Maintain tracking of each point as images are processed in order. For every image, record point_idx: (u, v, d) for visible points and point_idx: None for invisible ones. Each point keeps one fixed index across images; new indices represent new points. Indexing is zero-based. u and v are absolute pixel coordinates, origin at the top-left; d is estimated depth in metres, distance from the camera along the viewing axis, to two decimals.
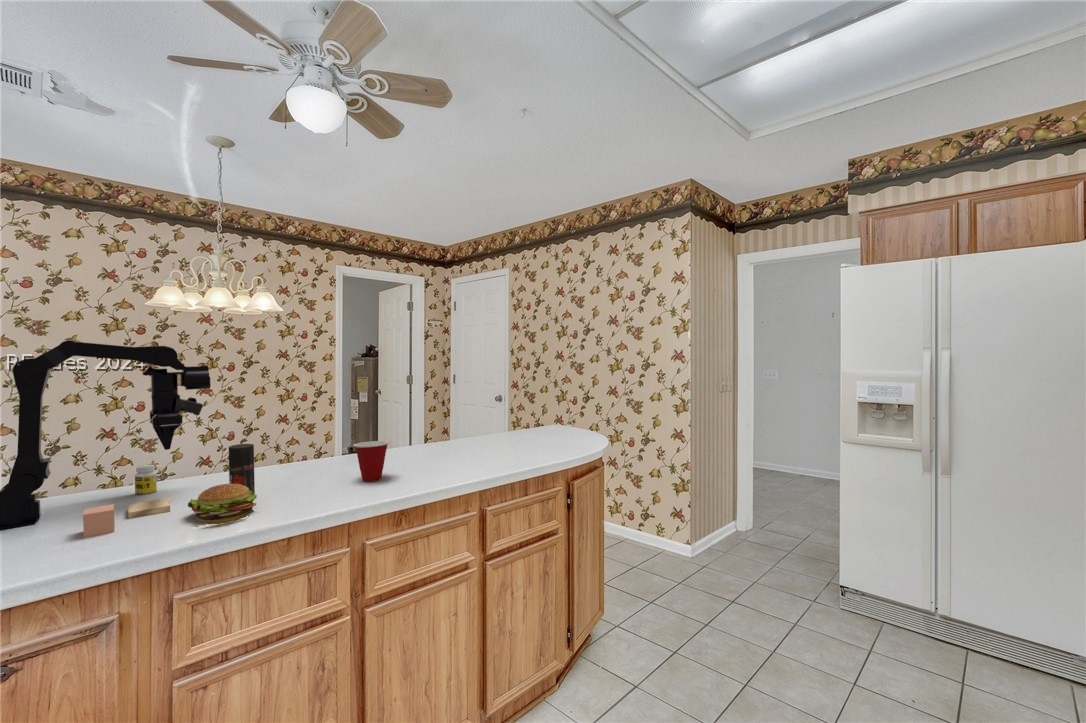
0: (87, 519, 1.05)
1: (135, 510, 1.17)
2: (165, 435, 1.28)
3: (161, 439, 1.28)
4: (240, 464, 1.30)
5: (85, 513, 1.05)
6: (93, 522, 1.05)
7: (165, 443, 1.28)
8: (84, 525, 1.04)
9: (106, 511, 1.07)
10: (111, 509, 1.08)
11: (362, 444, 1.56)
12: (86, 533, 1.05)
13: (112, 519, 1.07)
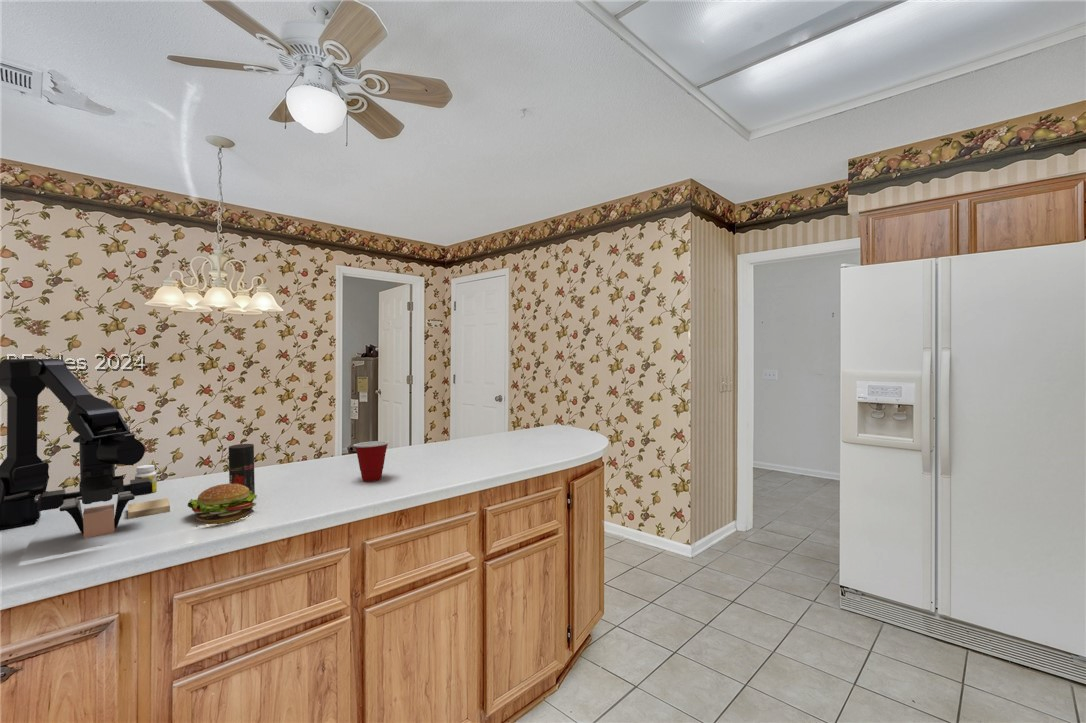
0: (87, 519, 1.05)
1: (134, 510, 1.17)
2: None
3: None
4: (240, 464, 1.30)
5: (85, 513, 1.05)
6: (93, 521, 1.05)
7: None
8: (84, 525, 1.04)
9: (106, 511, 1.07)
10: (111, 509, 1.08)
11: (362, 444, 1.56)
12: (86, 533, 1.05)
13: (112, 519, 1.07)
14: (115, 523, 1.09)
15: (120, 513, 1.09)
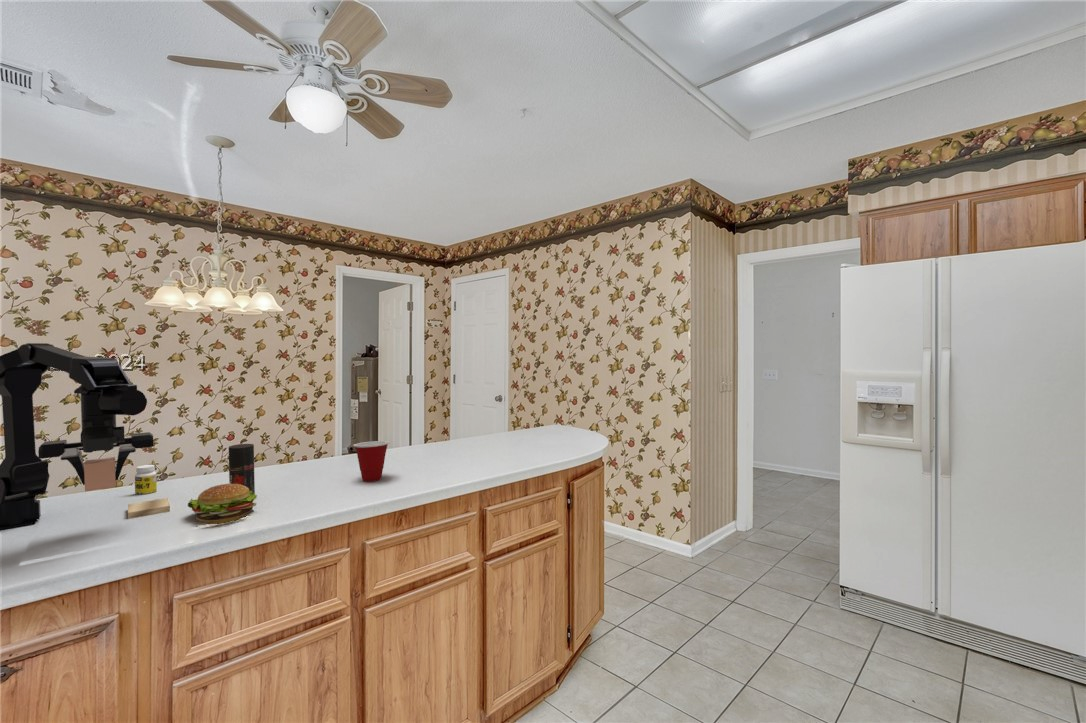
0: (88, 469, 1.05)
1: (134, 510, 1.17)
2: None
3: None
4: (240, 464, 1.30)
5: (86, 463, 1.05)
6: (94, 472, 1.06)
7: None
8: (85, 475, 1.05)
9: (107, 462, 1.07)
10: (112, 460, 1.08)
11: (362, 444, 1.56)
12: (87, 483, 1.05)
13: (113, 470, 1.08)
14: (116, 475, 1.09)
15: (121, 465, 1.10)
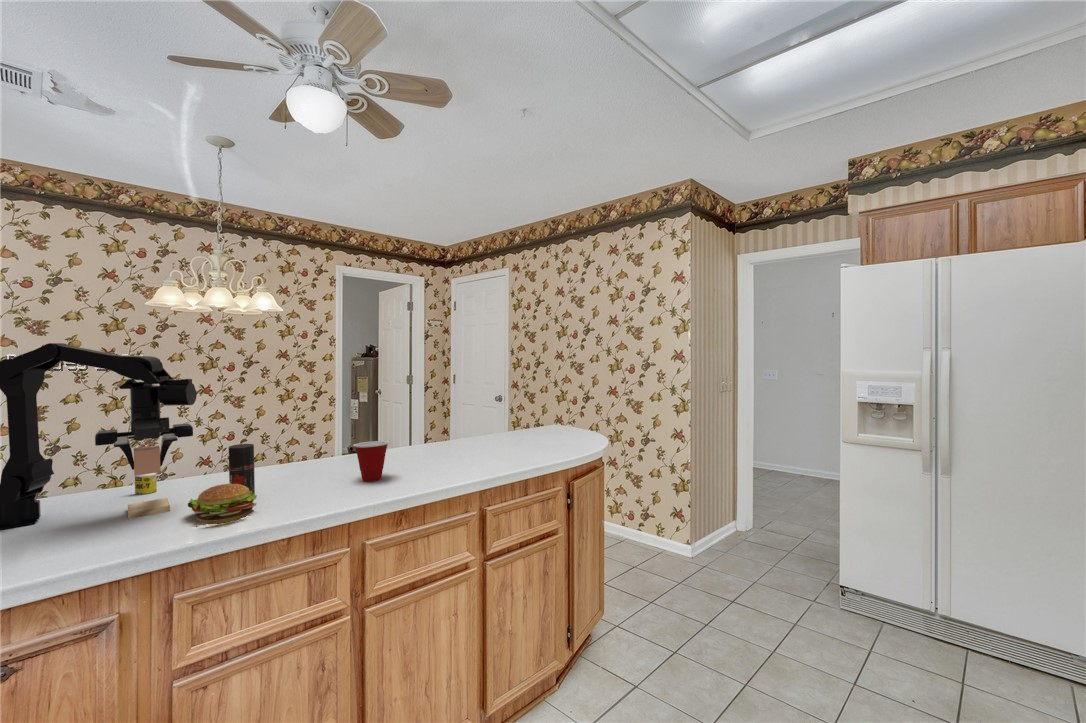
0: (137, 456, 1.17)
1: (134, 510, 1.17)
2: None
3: None
4: (240, 464, 1.30)
5: (135, 450, 1.18)
6: (142, 458, 1.18)
7: (129, 462, 1.19)
8: (135, 461, 1.17)
9: (153, 449, 1.20)
10: (157, 448, 1.20)
11: (362, 444, 1.56)
12: (136, 468, 1.17)
13: (158, 457, 1.20)
14: (160, 461, 1.22)
15: (165, 453, 1.22)
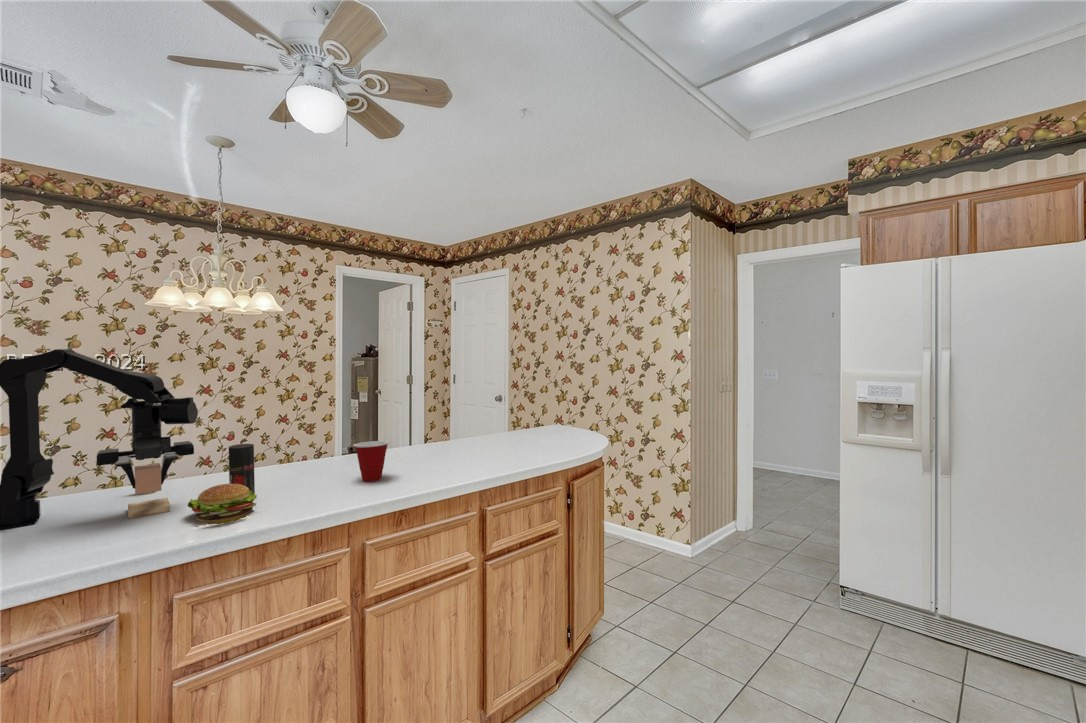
0: (138, 475, 1.18)
1: (134, 510, 1.17)
2: None
3: None
4: (240, 464, 1.30)
5: (136, 469, 1.18)
6: (143, 477, 1.19)
7: (130, 481, 1.19)
8: (136, 480, 1.18)
9: (154, 468, 1.20)
10: (158, 467, 1.21)
11: (362, 444, 1.56)
12: (138, 487, 1.18)
13: (159, 475, 1.21)
14: (161, 480, 1.22)
15: (166, 471, 1.23)
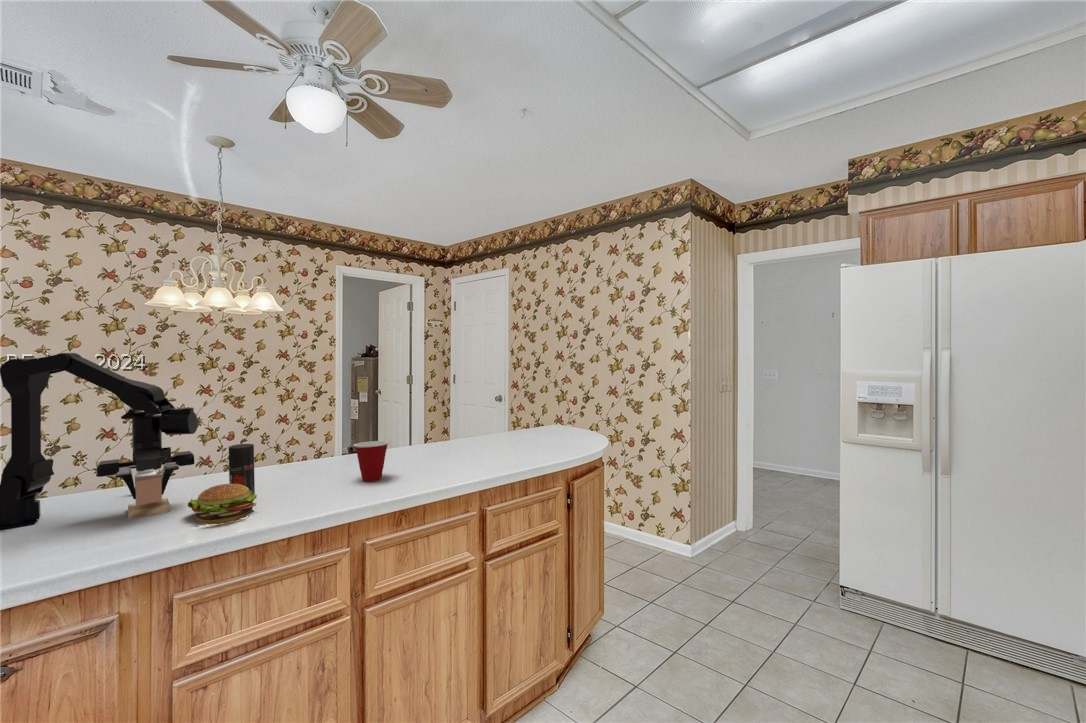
0: (138, 485, 1.18)
1: (134, 510, 1.17)
2: None
3: None
4: (240, 464, 1.30)
5: (137, 480, 1.18)
6: (143, 488, 1.19)
7: None
8: (136, 491, 1.18)
9: (155, 479, 1.20)
10: (159, 477, 1.21)
11: (362, 444, 1.56)
12: (138, 498, 1.18)
13: (160, 486, 1.21)
14: (162, 490, 1.22)
15: (166, 481, 1.23)
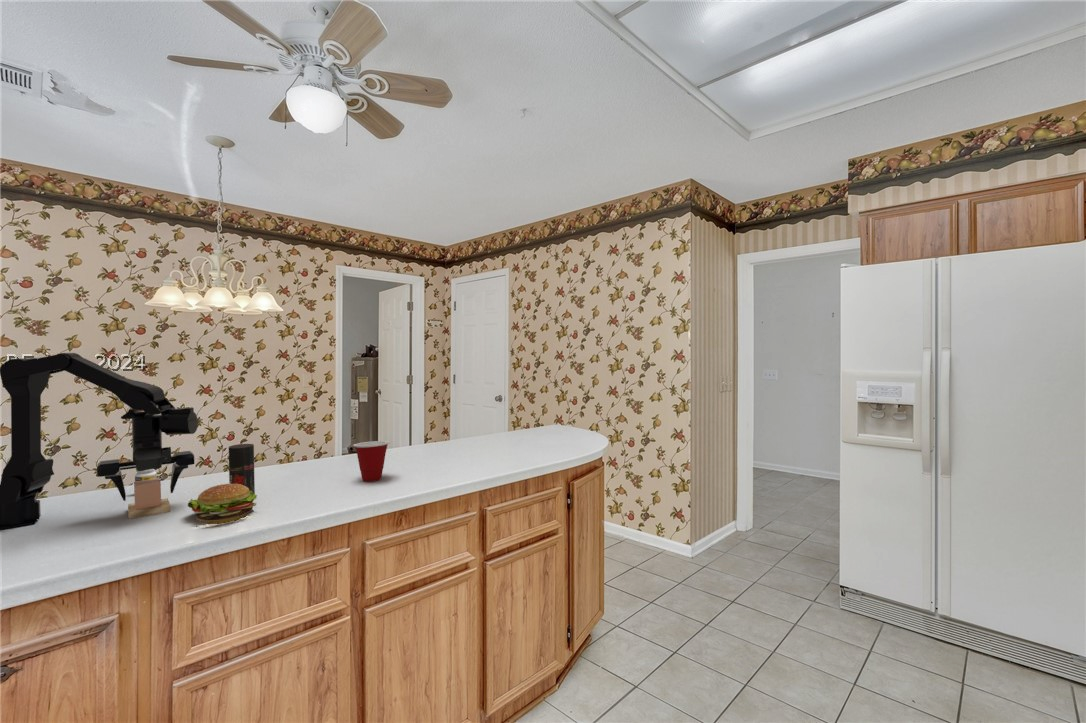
0: (138, 490, 1.18)
1: (135, 510, 1.17)
2: None
3: None
4: (240, 464, 1.30)
5: (136, 484, 1.18)
6: (143, 492, 1.18)
7: None
8: (136, 495, 1.18)
9: (154, 483, 1.20)
10: (158, 481, 1.21)
11: (362, 444, 1.56)
12: (137, 502, 1.18)
13: (159, 490, 1.21)
14: (171, 489, 1.24)
15: (176, 480, 1.24)
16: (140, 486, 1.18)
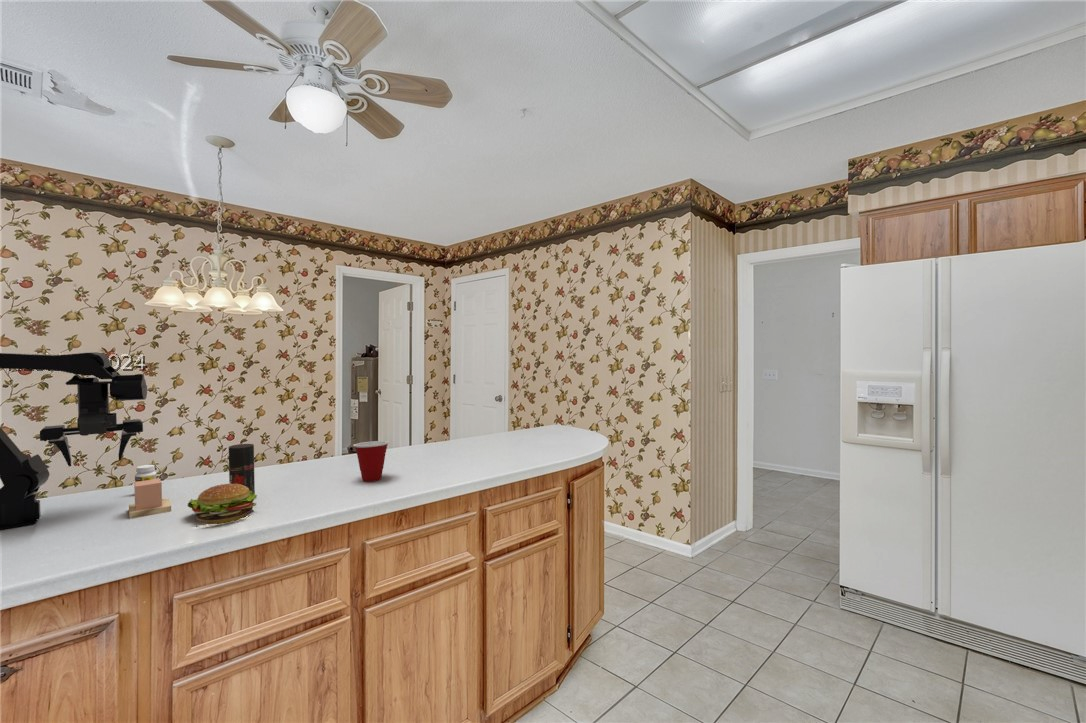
0: (139, 491, 1.18)
1: None
2: None
3: None
4: (240, 464, 1.30)
5: (137, 485, 1.18)
6: (144, 493, 1.18)
7: None
8: (137, 496, 1.18)
9: (155, 484, 1.20)
10: (159, 482, 1.21)
11: (362, 444, 1.56)
12: (138, 503, 1.18)
13: (160, 491, 1.21)
14: (119, 456, 1.24)
15: (124, 447, 1.24)
16: (141, 487, 1.18)
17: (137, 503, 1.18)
